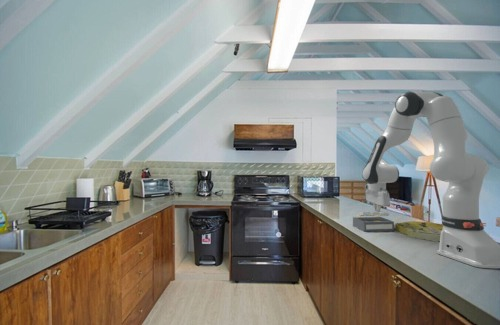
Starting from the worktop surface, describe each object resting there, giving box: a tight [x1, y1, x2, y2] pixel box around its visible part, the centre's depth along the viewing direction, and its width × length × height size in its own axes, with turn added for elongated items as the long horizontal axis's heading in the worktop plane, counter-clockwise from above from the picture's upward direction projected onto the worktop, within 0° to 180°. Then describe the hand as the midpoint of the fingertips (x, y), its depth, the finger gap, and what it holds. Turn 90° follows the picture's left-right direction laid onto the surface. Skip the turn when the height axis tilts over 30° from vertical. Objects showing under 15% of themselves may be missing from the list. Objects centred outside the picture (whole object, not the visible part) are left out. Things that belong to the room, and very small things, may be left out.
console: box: [352, 215, 395, 233], centre depth 145 cm, size 14×16×5 cm
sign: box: [394, 220, 443, 242], centre depth 133 cm, size 28×3×30 cm
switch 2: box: [366, 211, 380, 217], centre depth 145 cm, size 8×4×2 cm, turn 2°
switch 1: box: [356, 211, 371, 217], centre depth 145 cm, size 8×4×2 cm, turn 2°
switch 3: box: [378, 210, 390, 217], centre depth 145 cm, size 8×4×2 cm, turn 2°
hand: (377, 211), depth 149 cm, fingers closed, pressing on switch 3
